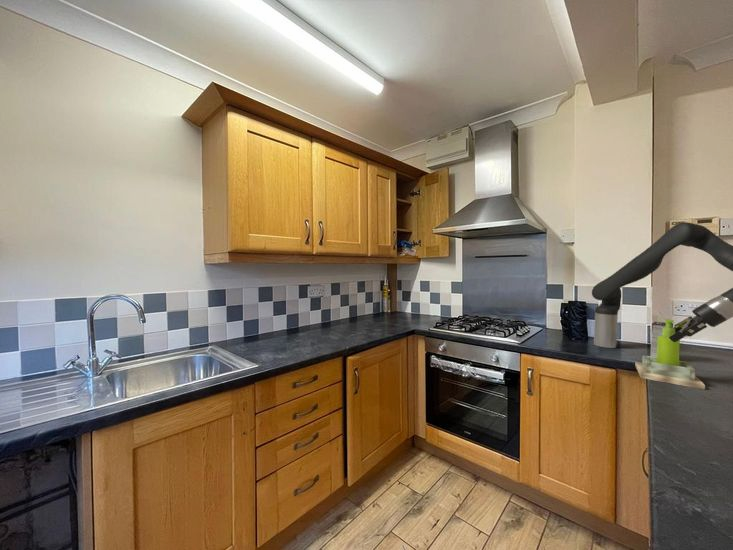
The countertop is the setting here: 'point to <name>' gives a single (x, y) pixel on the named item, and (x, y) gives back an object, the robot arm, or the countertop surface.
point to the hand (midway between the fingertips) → (668, 338)
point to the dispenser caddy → (668, 372)
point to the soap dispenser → (668, 346)
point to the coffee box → (656, 336)
